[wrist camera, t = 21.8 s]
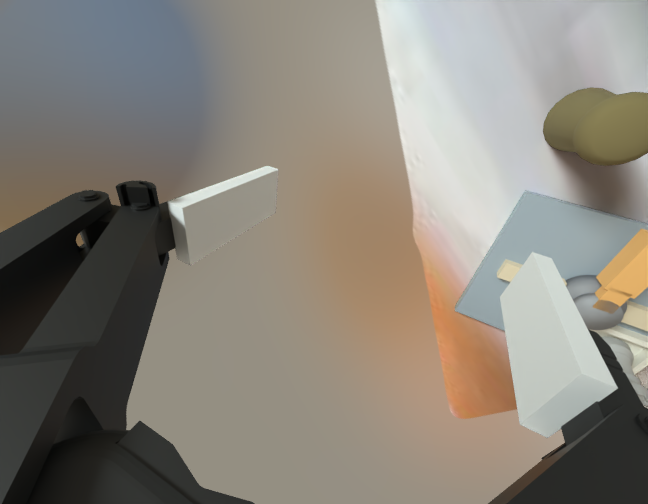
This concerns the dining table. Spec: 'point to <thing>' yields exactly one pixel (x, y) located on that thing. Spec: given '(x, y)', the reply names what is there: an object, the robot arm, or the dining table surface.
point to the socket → (630, 344)
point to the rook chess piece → (627, 366)
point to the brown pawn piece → (600, 126)
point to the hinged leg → (616, 285)
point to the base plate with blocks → (553, 255)
